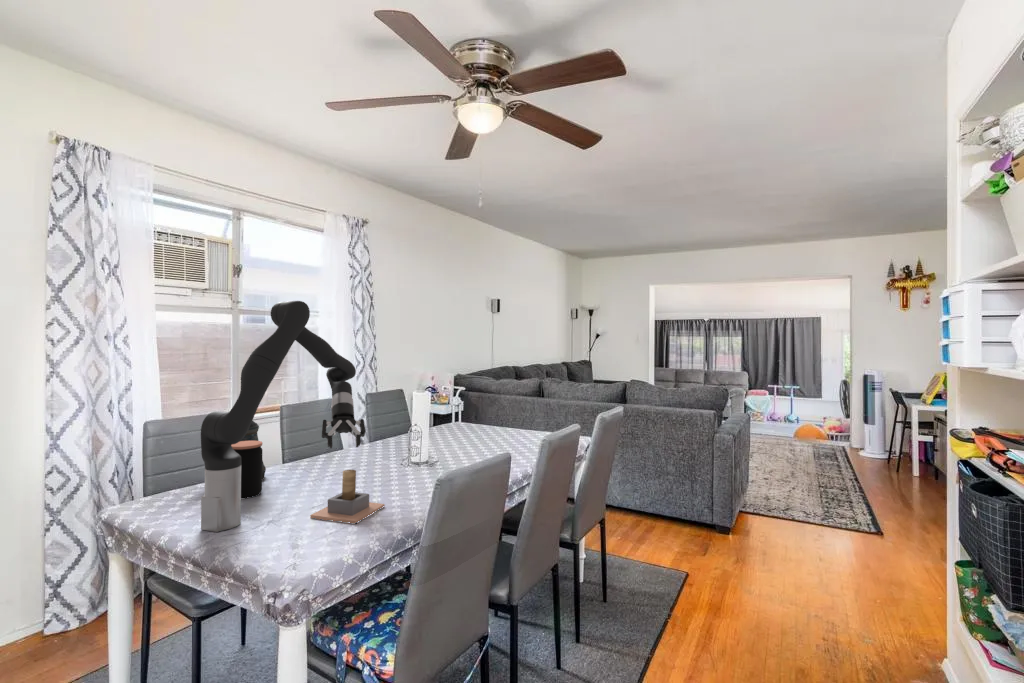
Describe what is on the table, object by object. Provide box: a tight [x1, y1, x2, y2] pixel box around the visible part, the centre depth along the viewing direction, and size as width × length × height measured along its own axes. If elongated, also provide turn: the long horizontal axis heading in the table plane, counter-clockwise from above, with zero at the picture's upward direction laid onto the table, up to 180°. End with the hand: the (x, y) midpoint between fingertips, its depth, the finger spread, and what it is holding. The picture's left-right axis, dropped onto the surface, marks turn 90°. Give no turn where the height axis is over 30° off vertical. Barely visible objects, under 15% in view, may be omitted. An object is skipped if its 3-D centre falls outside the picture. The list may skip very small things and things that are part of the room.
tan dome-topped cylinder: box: [341, 469, 357, 501], centre depth 156 cm, size 4×4×12 cm
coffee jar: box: [231, 440, 263, 499], centre depth 172 cm, size 11×11×18 cm
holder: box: [310, 491, 386, 524], centre depth 156 cm, size 16×16×5 cm
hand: (344, 446), depth 167 cm, fingers open, 8 cm apart
